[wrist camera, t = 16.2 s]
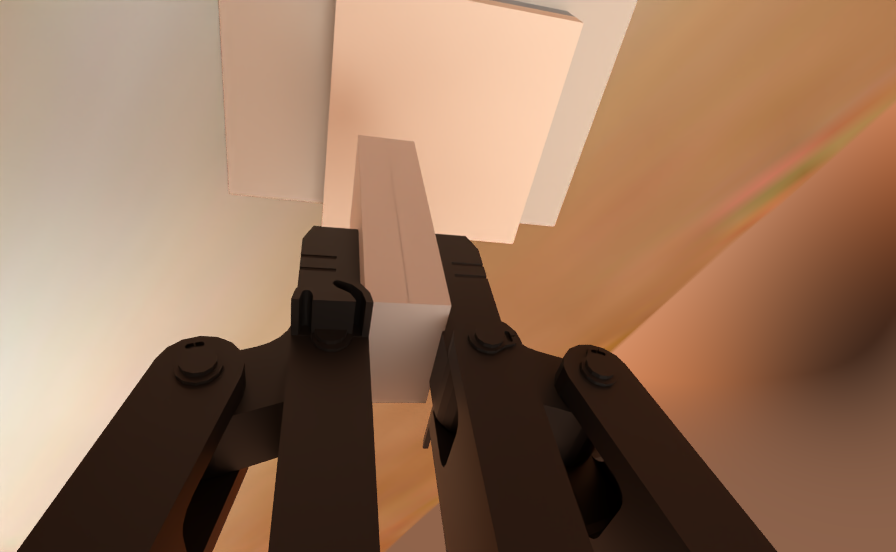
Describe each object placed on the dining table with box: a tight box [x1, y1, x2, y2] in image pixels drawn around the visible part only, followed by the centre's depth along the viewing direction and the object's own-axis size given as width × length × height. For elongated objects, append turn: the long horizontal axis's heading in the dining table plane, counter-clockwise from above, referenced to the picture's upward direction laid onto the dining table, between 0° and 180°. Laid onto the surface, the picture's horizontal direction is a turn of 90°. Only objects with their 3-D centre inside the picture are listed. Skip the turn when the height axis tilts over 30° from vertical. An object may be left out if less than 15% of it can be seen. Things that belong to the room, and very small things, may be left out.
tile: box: [322, 0, 584, 244], centre depth 22 cm, size 10×2×9 cm
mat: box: [219, 0, 638, 227], centre depth 23 cm, size 11×16×1 cm
